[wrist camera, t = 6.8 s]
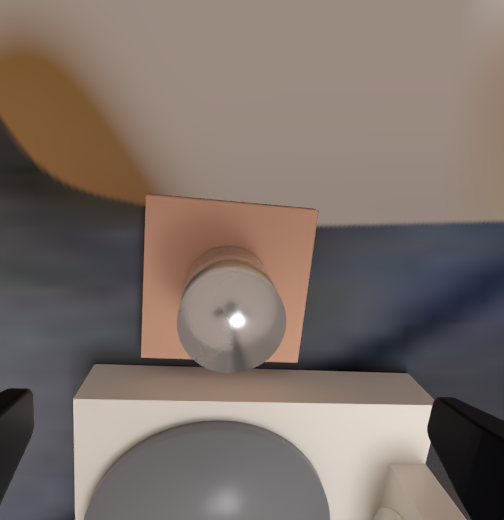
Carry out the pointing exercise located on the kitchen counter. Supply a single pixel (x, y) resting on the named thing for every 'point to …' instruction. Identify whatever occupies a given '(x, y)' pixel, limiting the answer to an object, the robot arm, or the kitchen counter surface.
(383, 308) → the kitchen counter surface
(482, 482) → the robot arm
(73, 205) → the kitchen counter surface
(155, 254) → the rubber mat
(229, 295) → the cylinder
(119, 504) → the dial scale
